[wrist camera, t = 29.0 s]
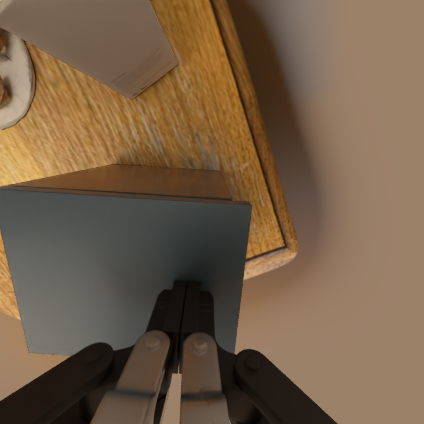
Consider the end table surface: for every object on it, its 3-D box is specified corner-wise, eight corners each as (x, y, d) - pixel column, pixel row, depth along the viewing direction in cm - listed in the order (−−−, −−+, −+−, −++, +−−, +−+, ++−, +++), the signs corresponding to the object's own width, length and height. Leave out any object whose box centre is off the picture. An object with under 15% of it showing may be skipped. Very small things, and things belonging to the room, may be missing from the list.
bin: (220, 170, 25) (232, 198, 12) (214, 253, 28) (218, 348, 15) (113, 163, 25) (6, 185, 12) (119, 248, 28) (38, 341, 15)
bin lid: (249, 201, 12) (252, 205, 11) (231, 354, 15) (232, 366, 14) (5, 185, 12) (-10, 188, 11) (38, 341, 15) (28, 353, 14)
